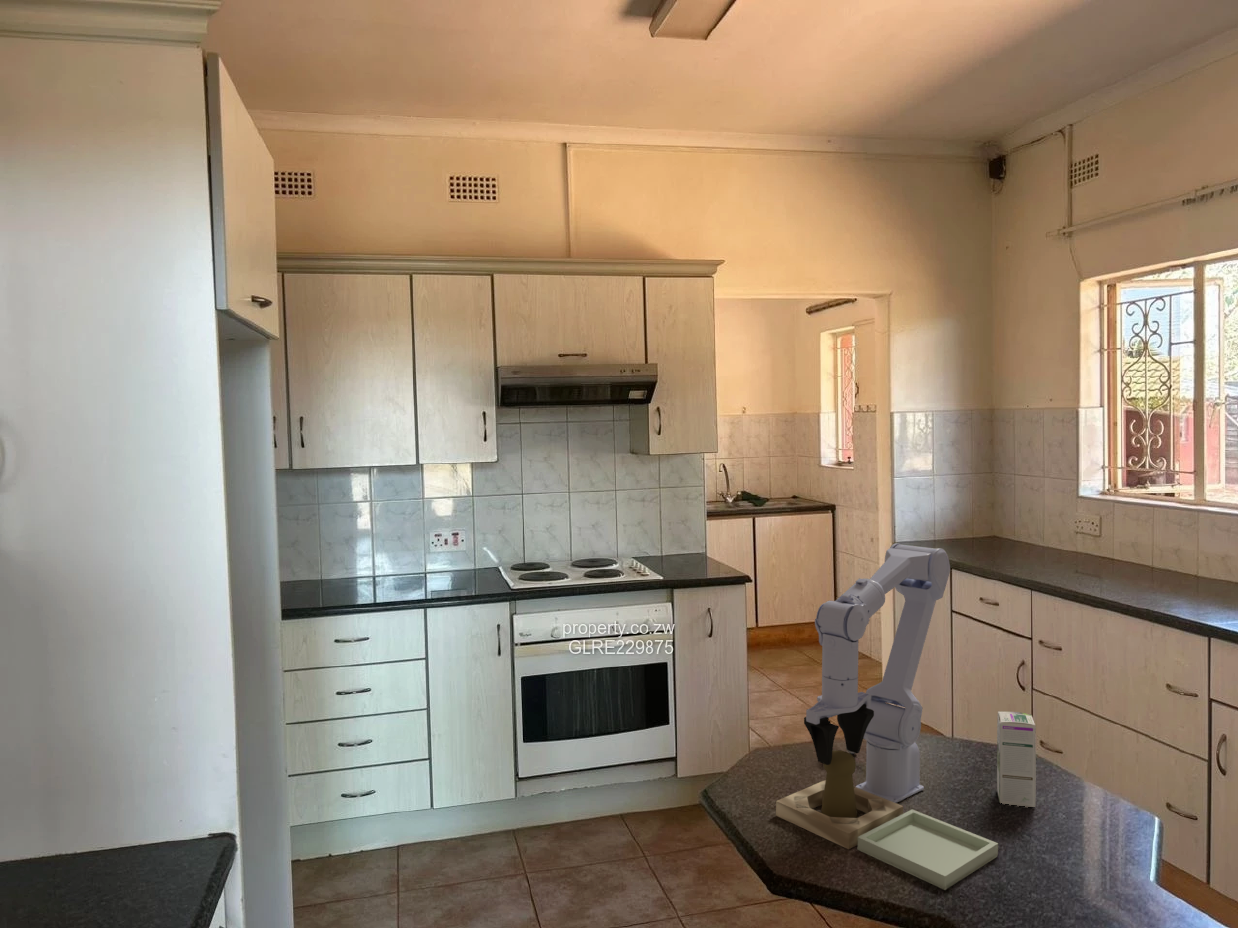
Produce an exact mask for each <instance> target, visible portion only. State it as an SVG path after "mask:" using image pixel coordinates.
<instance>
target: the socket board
mask: <svg viewBox="0 0 1238 928" xmlns="http://www.w3.org/2000/svg"><path fill="white" fill-rule="evenodd" d="M825 782H826V779H824V780H821V781H820V782H817V783H815V784H813V785H810V786H808V787H806V788H804V789H801V790H799V791H796V792H794V793H791V794H790V795H787V796H785V797H782V798H780V799H778V800H777V799H776V802H775V816H776V817H778V818H780V819H782V820H785V821H787V822H789V823H792V824H793V825H794V826H798V827H800V828H803V829H805V830H807V831H808V832H810V833H812V834H815V835H817V836H819V837H821V838H824V839H825V840H828V841H830V842H832V843H834V844H836V845H838V846H840V847H843V848H845V849H847V850H851V849H852V848H854V847H856V846H858V837H859V836H861V835H863V834H865V833H867V832H869V831H871V830H873V829H875V828H876V827H878V826H880V825H882V824H884V823H886V822H888V821H890V820H892V819H894V818H896V817H898V816H900V815H902V814H904V805H901V804H899V803H898V802H897V803H894V802H892V801H889V800H887V799H884V798H881V797H879V796H876V795H874V794H871V793H869V792H866V791H864V790H861V789H859V788H856V786H854V792H855V800H856V808H857V811H861V812H862V813H864V814H862V815H861V816H858V818H841V817H829V816H827V815H825V814H822V813H821V811H817V810H815V809H816V808H817V807H820V806H822V802H823V796H824V789H825Z"/></svg>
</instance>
